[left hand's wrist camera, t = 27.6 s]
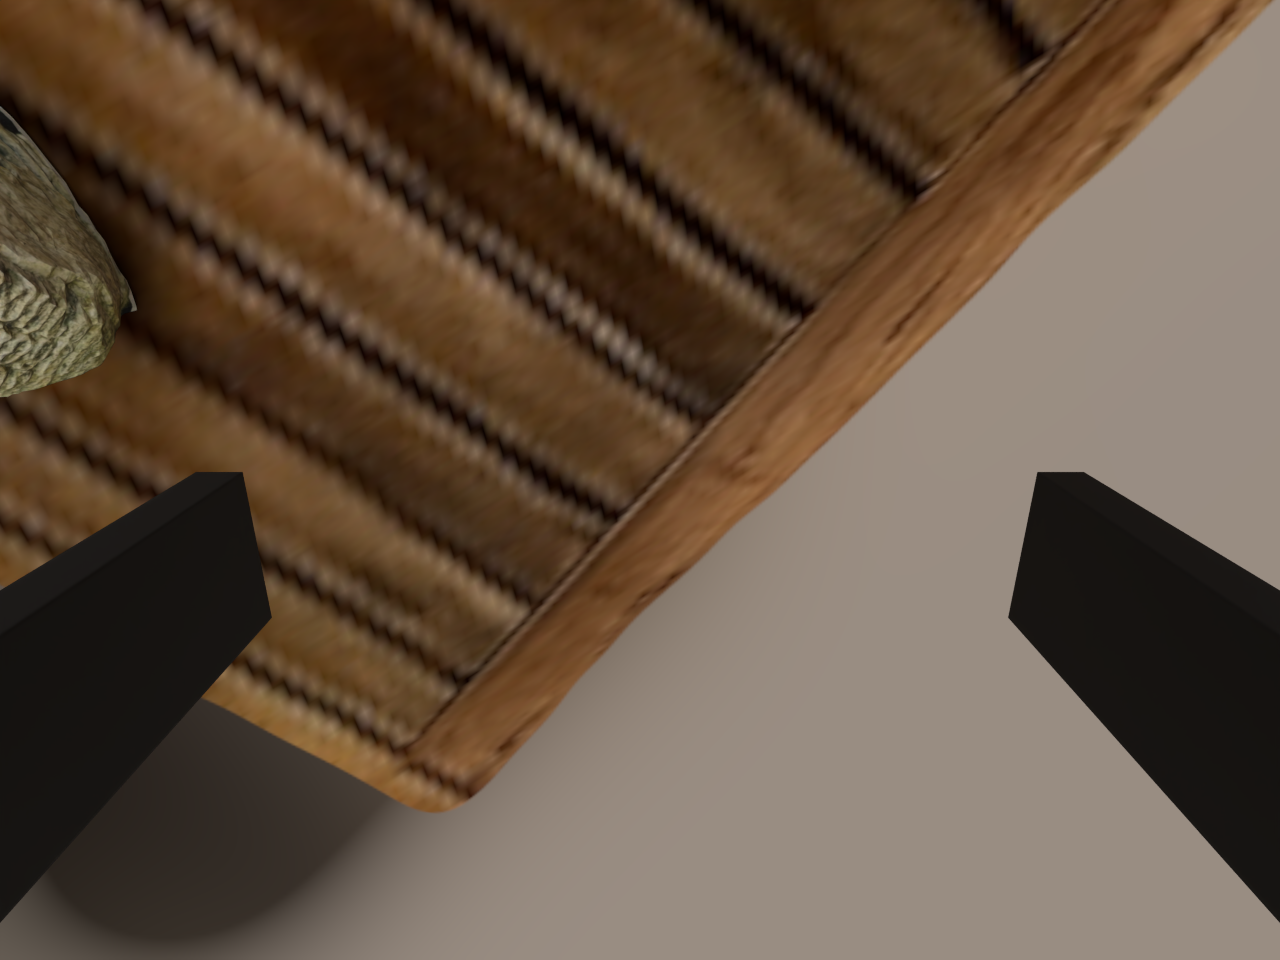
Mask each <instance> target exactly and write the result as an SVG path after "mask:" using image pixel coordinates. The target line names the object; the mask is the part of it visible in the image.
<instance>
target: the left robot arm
mask: <svg viewBox="0 0 1280 960" xmlns="http://www.w3.org/2000/svg"><path fill="white" fill-rule="evenodd" d="M271 618H272V616H271V611H270V606H269V601H268V596H267V591H266V586H265V581H264V577H263V572H262V567H261V562H260V557H259V552H258V547H257V542H256V537H255V532H254V527H253V522H252V517H251V512H250V507H249V502H248V497H247V492H246V487H245V482H244V477H243V472H196V473H194V474H192V475H191V476H189V477H187V478H186V479H184V480H182V481H181V482H179V483H177V484H176V485H174V486H172V487H171V488H169V489H167V490H166V491H164V492H162V493H161V494H159V495H157V496H156V497H154V498H152V499H151V500H149V501H148V502H146V503H144V504H143V505H141V506H139V507H138V508H136V509H134V510H133V511H131V512H129V513H128V514H126V515H124V516H123V517H121V518H119V519H118V520H116V521H114V522H113V523H111V524H109V525H108V526H106V527H104V528H103V529H101V530H100V531H98V532H96V533H95V534H93V535H91V536H90V537H88V538H86V539H85V540H83V541H81V542H80V543H78V544H76V545H75V546H73V547H71V548H70V549H68V550H66V551H65V552H63V553H61V554H60V555H58V556H56V557H55V558H53V559H52V560H50V561H48V562H47V563H45V564H43V565H42V566H40V567H38V568H37V569H35V570H33V571H32V572H30V573H28V574H27V575H25V576H23V577H22V578H20V579H18V580H17V581H15V582H13V583H12V584H10V585H8V586H7V587H5V588H4V589H2V590H0V922H1V921H2V920H3V919H4V918H5V917H6V915H7V914H8V913H9V912H10V911H11V910H12V909H13V908H14V906H15V905H16V904H17V903H18V902H19V901H20V900H21V899H22V898H23V896H24V895H25V894H26V893H27V892H28V891H29V890H30V889H31V887H32V886H33V885H34V884H35V883H36V882H37V881H38V879H39V878H40V877H41V876H42V875H43V874H44V873H45V872H46V871H47V869H48V868H49V867H50V866H51V865H52V864H53V863H54V862H55V861H56V859H57V858H58V857H59V856H60V855H61V854H62V853H63V852H64V850H65V849H66V848H67V847H68V846H69V845H70V844H71V842H72V841H73V840H74V839H75V838H76V837H77V836H78V835H79V834H80V832H81V831H82V830H83V829H84V828H85V827H86V826H87V825H88V823H89V822H90V821H91V820H92V819H93V818H94V817H95V816H96V814H97V813H98V812H99V811H100V810H101V809H102V808H103V807H104V805H105V804H106V803H107V802H108V801H109V800H110V799H111V798H112V796H113V795H114V794H115V793H116V792H117V791H118V790H119V789H120V787H121V786H122V785H123V784H124V783H125V782H126V781H127V780H128V779H129V777H130V776H131V775H132V774H133V773H134V772H135V771H136V770H137V768H138V767H139V766H140V765H141V764H142V763H143V762H144V761H145V759H146V758H147V757H148V756H149V755H150V754H151V753H152V752H153V750H154V749H155V748H156V747H157V746H158V745H159V744H160V743H161V741H162V740H163V739H164V738H165V737H166V736H167V735H168V734H169V732H170V731H171V730H172V729H173V728H174V727H175V726H176V725H177V723H178V722H179V721H180V720H181V719H182V718H183V717H184V716H185V714H186V713H187V712H188V711H189V710H190V709H191V708H192V707H193V706H194V704H195V703H196V702H197V701H198V700H199V699H200V698H201V697H202V695H203V694H204V693H205V692H206V691H207V690H208V689H209V688H210V686H211V685H212V684H213V683H214V682H215V681H216V680H217V679H218V677H219V676H220V675H221V674H222V673H223V672H224V671H225V670H226V668H227V667H228V666H229V665H230V664H231V663H232V662H233V661H234V659H235V658H236V657H237V656H238V655H239V654H240V653H241V652H242V650H243V649H244V648H245V647H246V646H247V645H248V644H249V643H250V641H251V640H252V639H253V638H254V637H255V636H256V635H257V634H258V633H259V631H260V630H261V629H262V628H263V627H264V626H265V625H266V624H267V622H268V621H269V620H270V619H271ZM1008 618H1009V619H1010V620H1011V621H1012V622H1013V623H1014V625H1015V626H1016V627H1017V628H1018V629H1019V630H1020V631H1021V632H1022V634H1023V635H1024V636H1025V637H1026V638H1027V639H1028V640H1029V641H1030V643H1031V644H1032V645H1033V646H1034V647H1035V648H1036V649H1037V650H1038V652H1039V653H1040V654H1041V655H1042V656H1043V657H1044V658H1045V659H1046V661H1047V662H1048V663H1049V664H1050V665H1051V666H1052V667H1053V668H1054V670H1055V671H1056V672H1057V673H1058V674H1059V675H1060V676H1061V677H1062V679H1063V680H1064V681H1065V682H1066V683H1067V684H1068V685H1069V686H1070V688H1071V689H1072V690H1073V691H1074V692H1075V693H1076V694H1077V695H1078V696H1079V698H1080V699H1081V700H1082V701H1083V702H1084V703H1085V704H1086V706H1087V707H1088V708H1089V709H1090V710H1091V711H1092V712H1093V713H1094V714H1095V716H1096V717H1097V718H1098V719H1099V720H1100V721H1101V722H1102V723H1103V725H1104V726H1105V727H1106V728H1107V729H1108V730H1109V731H1110V732H1111V734H1112V735H1113V736H1114V737H1115V738H1116V739H1117V740H1118V741H1119V743H1120V744H1121V745H1122V746H1123V747H1124V748H1125V749H1126V750H1127V752H1128V753H1129V754H1130V755H1131V756H1132V757H1133V758H1134V759H1135V761H1136V762H1137V763H1138V764H1139V765H1140V766H1141V767H1142V768H1143V770H1144V771H1145V772H1146V773H1147V774H1148V775H1149V776H1150V777H1151V778H1152V780H1153V781H1154V782H1155V783H1156V784H1157V785H1158V786H1159V788H1160V789H1161V790H1162V791H1163V792H1164V793H1165V794H1166V795H1167V796H1168V798H1169V799H1170V800H1171V801H1172V802H1173V803H1174V804H1175V805H1176V807H1177V808H1178V809H1179V810H1180V811H1181V812H1182V813H1183V814H1184V816H1185V817H1186V818H1187V819H1188V820H1189V821H1190V822H1191V823H1192V825H1193V826H1194V827H1195V828H1196V829H1197V830H1198V831H1199V832H1200V834H1201V835H1202V836H1203V837H1204V838H1205V839H1206V840H1207V841H1208V843H1209V844H1210V845H1211V846H1212V847H1213V848H1214V849H1215V850H1216V852H1217V853H1218V854H1219V855H1220V856H1221V857H1222V858H1223V859H1224V861H1225V862H1226V863H1227V864H1228V865H1229V866H1230V867H1231V868H1232V869H1233V871H1234V872H1235V873H1236V874H1237V875H1238V876H1239V877H1240V878H1241V880H1242V881H1243V882H1244V883H1245V884H1246V885H1247V886H1248V887H1249V889H1250V890H1251V891H1252V892H1253V893H1254V894H1255V895H1256V896H1257V898H1258V899H1259V900H1260V901H1261V902H1262V903H1263V904H1264V905H1265V907H1266V908H1267V909H1268V910H1269V911H1270V912H1271V913H1272V914H1273V916H1274V917H1275V918H1276V919H1277V920H1278V921H1279V922H1280V590H1278V589H1276V588H1275V587H1273V586H1271V585H1270V584H1268V583H1267V582H1265V581H1263V580H1262V579H1260V578H1258V577H1257V576H1255V575H1253V574H1252V573H1250V572H1248V571H1247V570H1245V569H1243V568H1242V567H1240V566H1238V565H1237V564H1235V563H1233V562H1232V561H1230V560H1228V559H1227V558H1225V557H1223V556H1222V555H1220V554H1219V553H1217V552H1215V551H1214V550H1212V549H1210V548H1209V547H1207V546H1205V545H1204V544H1202V543H1200V542H1199V541H1197V540H1195V539H1194V538H1192V537H1190V536H1189V535H1187V534H1185V533H1184V532H1182V531H1180V530H1179V529H1177V528H1175V527H1174V526H1172V525H1171V524H1169V523H1167V522H1166V521H1164V520H1162V519H1161V518H1159V517H1157V516H1156V515H1154V514H1152V513H1151V512H1149V511H1147V510H1146V509H1144V508H1142V507H1141V506H1139V505H1137V504H1136V503H1134V502H1132V501H1131V500H1129V499H1127V498H1126V497H1124V496H1123V495H1121V494H1119V493H1117V492H1116V491H1114V490H1113V489H1111V488H1109V487H1108V486H1106V485H1104V484H1103V483H1101V482H1099V481H1098V480H1096V479H1094V478H1093V477H1091V476H1089V475H1088V474H1086V473H1084V472H1038V473H1037V477H1036V482H1035V487H1034V492H1033V497H1032V502H1031V507H1030V512H1029V517H1028V522H1027V527H1026V532H1025V537H1024V542H1023V547H1022V552H1021V557H1020V562H1019V567H1018V572H1017V577H1016V581H1015V587H1014V591H1013V596H1012V601H1011V606H1010V612H1009V616H1008Z"/></svg>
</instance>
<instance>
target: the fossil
mask: <svg viewBox="0 0 1280 960" xmlns="http://www.w3.org/2000/svg"><path fill="white" fill-rule="evenodd" d="M136 310H137V309H136V304H135V301H134V298H133V295H132V292H131V290H130V287H129V285H128V282H127V280H126V279H125V277H124V276H123V275H122V274H121V272H120V271H119V269H118V267H117V265H116V264H115V262H114V260H113V258H112V256H111V254H110V252H109V249H108V247H107V245H106V242H105V240H104V239H103V238H102V237H101V235H100V234H99V233H98V232H97V230H96V229H95V227H94V225H93V224H92V222H91V220H90V218H89V217H88V215H87V214H86V213H85V212H84V211H83V210H82V209H81V208H80V207H79V206H78V204H77V202H76V200H75V198H74V197H73V195H72V193H71V191H70V189H69V188H68V186H67V184H66V183H65V181H64V180H63V179H62V177H61V176H60V175H59V174H58V172H57V171H56V170H55V169H54V167H53V166H52V165H51V164H50V162H49V161H48V160H47V159H46V157H45V156H44V155H43V154H42V152H41V151H40V150H39V148H38V147H37V146H36V145H35V143H34V142H33V141H32V140H31V138H30V137H29V136H28V135H27V134H26V133H25V131H24V130H23V129H22V128H21V127H20V126H19V125H18V124H17V122H16V121H15V120H14V119H13V118H12V117H11V116H10V115H9V114H8V113H7V112H6V111H5V110H4V109H3V108H2V107H1V106H0V397H8V396H10V395H12V394H19V393H20V392H22V391H28V390H35V389H38V388H41V387H44V386H47V385H50V384H53V383H56V382H59V381H63V380H67V379H70V378H73V377H76V376H78V375H81V374H84V373H85V372H87V371H89V370H91V369H93V368H95V367H98V366H100V365H101V364H102V363H103V362H104V360H105V358H106V356H107V354H108V353H109V351H110V349H111V347H112V346H113V344H114V342H115V333H116V331H117V329H118V328H119V326H120V317H121V316H122V315H123V314H124V313H128V312H132V311H136Z"/></svg>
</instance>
